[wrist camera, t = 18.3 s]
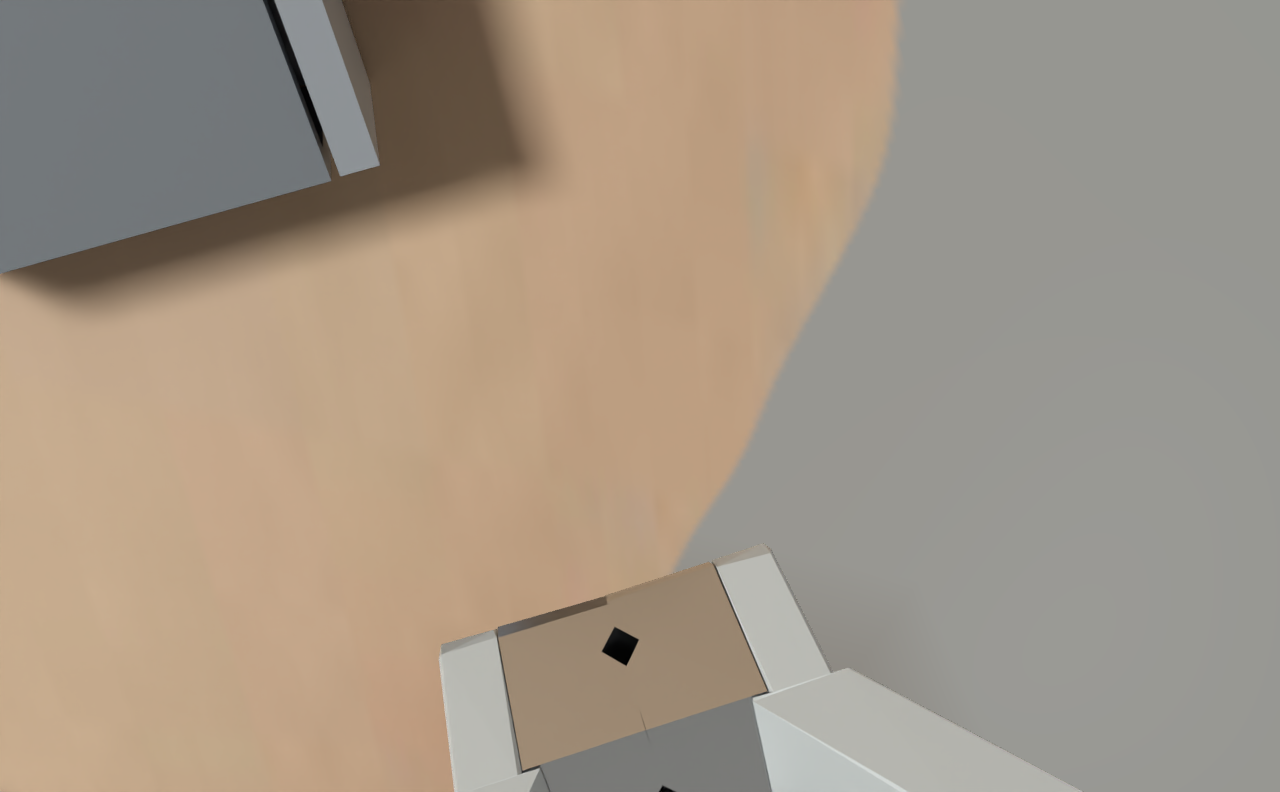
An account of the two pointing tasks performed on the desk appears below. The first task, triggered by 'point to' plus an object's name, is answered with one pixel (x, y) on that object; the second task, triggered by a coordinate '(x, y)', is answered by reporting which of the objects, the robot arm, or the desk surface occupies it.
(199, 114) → the housing
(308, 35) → the tray
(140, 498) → the desk surface
